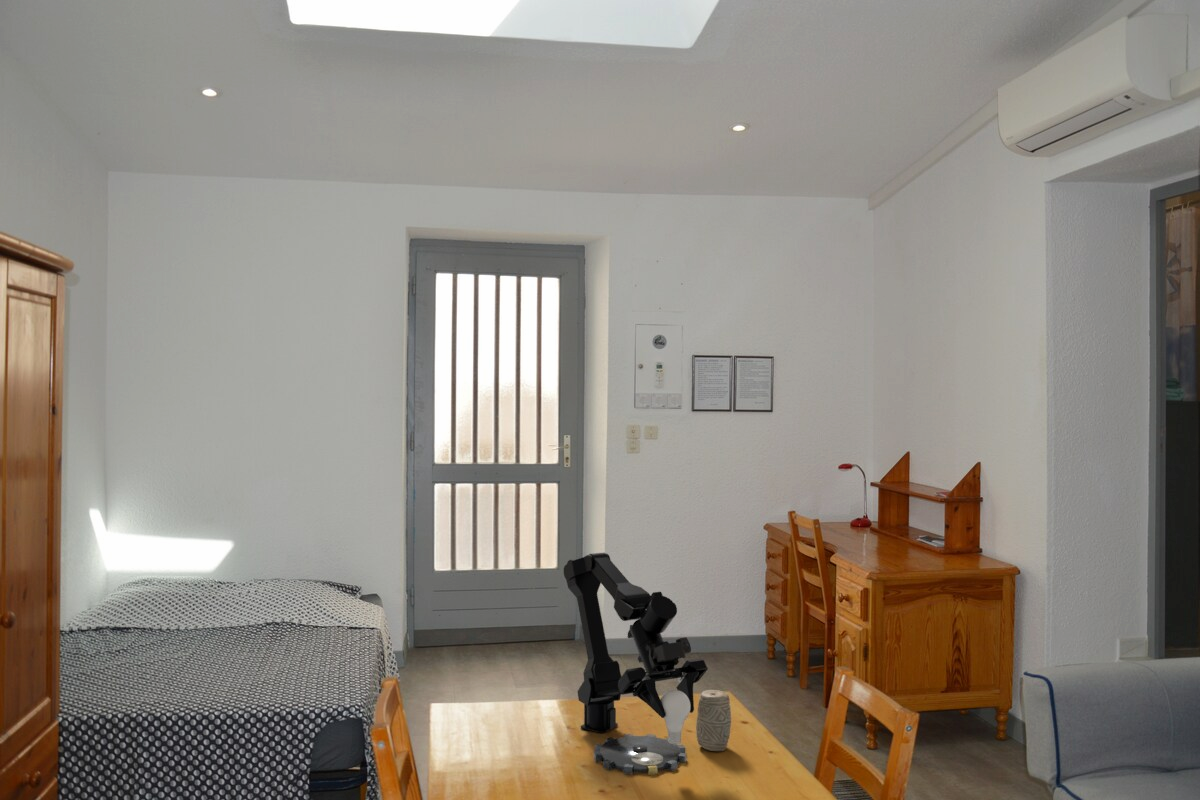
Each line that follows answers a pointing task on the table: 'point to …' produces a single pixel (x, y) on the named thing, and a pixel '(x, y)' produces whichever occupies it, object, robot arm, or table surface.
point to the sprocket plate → (639, 754)
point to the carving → (713, 720)
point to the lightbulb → (675, 713)
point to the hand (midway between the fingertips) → (678, 714)
